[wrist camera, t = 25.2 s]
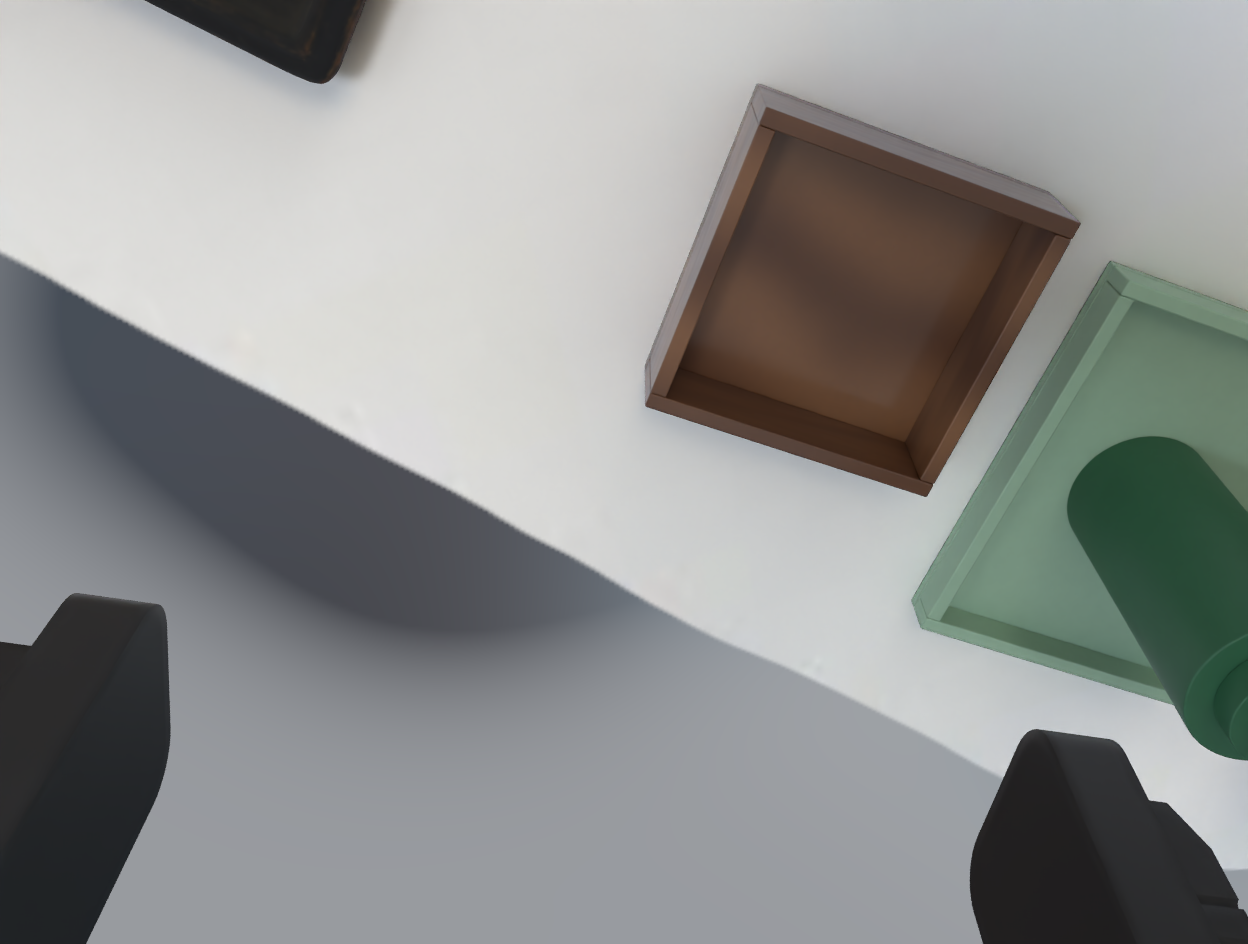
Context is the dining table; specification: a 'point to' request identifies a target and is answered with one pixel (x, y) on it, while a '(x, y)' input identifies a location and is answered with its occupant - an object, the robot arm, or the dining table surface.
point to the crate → (851, 293)
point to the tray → (1057, 452)
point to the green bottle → (1174, 575)
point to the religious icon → (279, 30)
